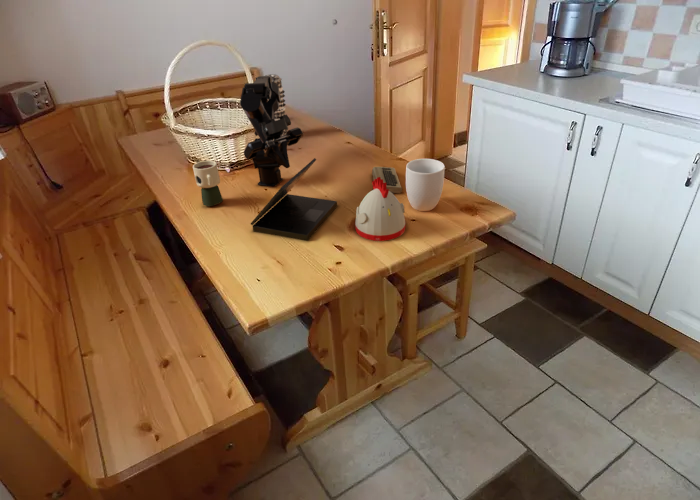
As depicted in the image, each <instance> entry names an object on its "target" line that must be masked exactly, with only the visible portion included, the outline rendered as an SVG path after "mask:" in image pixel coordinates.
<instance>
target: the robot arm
mask: <svg viewBox="0 0 700 500" xmlns="http://www.w3.org/2000/svg"><path fill="white" fill-rule="evenodd" d="M279 102H281V97H280V91H279V87H278V85H276V84H275V83H274V82H273V81H272V79H271V77H269V76H266V75H262V76H261V75H260V76H256V77H255V80H254V81H253V82H250V83H249V82H248V83H247V82H246V83H244V87H242V89H241V95H240V99H239V105H240V107H241V108H242V110H243V112H244V114H245V116H246V117H247V119H248V121H249V123H250V124H251V126H252V128H253V129H254V135H255V137H257V136H258V138H255V139H254V140H252V141H250V142H248V143H246V147H245V148H244V150H243V155H244V157H245V159H246V160H247V161H250V160H252V163H253V167H254V169H255V170H256V169H257V172H258V177H259V182H257V185H258V186H262V187H270V188H275V187H277V186H278V185H279V184H280V183H281V182H282V181H283V180H284V178H283V177H282V172H281V169H280V168H281V166H282V167H284V168H285V169H289V168H290V167H291V165H290V160H289V155H288V147H291V146H293V145H296V144H298V143H299V142H300V140H301V138H302V137H303V135H304V132H303V130H302V129H301V128H300V127H293V128H291V129H289V126H291V125H292V121H291V118H290V117H289V116H288V114H286V113H285V115H283V116H281V117H280V119H279V120H276V121H275V120H274V113H275V112H276V111H277V110H278V109H279ZM286 129H288V132H287V133H286V135H285V136H282V137H281V135H282V134H283V130H286Z"/></svg>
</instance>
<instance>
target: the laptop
mask: <svg viewBox="0 0 700 500" xmlns="http://www.w3.org/2000/svg"><path fill="white" fill-rule="evenodd" d="M337 207H338V200H333V199H325V198H317V197H316V198H315V197H310V196H303V195H297V194H291V193H287V194H286V195H285V196H284V197H283V198H282V199H281V200H279V201H278V202H277V203H276V204H275V205H274V206H273V207H272V208H271V209H270V210H269V211H267V212H266V213H265V214H264V215H263V216H262V217H261V218H260V219H259V220H258V221H257V222H255V223H254V224H253V225H251V227H252V232H255V233H260V234H267V235H271V236H277V237H282V238H283V237H284V238H287V239H295V240H300V241H306V242H308V241H309V240H310V239H311V238H312V237H313V235H314V234H315V233H316V232H317V231H318V230H319V229H320V228H321V226H322V225H323V224H324V223H325V221H326V220H327V219H328V218H329V217H330V216H331V214H332V213H333V212H334V211H335V210H336V208H337Z"/></svg>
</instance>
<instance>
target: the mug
mask: <svg viewBox="0 0 700 500" xmlns="http://www.w3.org/2000/svg"><path fill="white" fill-rule="evenodd" d="M445 170H446V167H445V164H444V163H443V162H442V161H440V160H437V159H433V158H416V159H413V160H412V159H411V160H410V161H408V162H407V163H406V165H405V191H406V197H407V200H408V202H409V205H410V206H411V207H412V209H414V210H415V211H420V212H429V211H430V212H431V211H432V210H433V209H435V208H436V207H437V205H438V204H439V202H440V199H441V197H442V193H443V189H444V182H445Z"/></svg>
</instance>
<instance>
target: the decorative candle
mask: <svg viewBox="0 0 700 500" xmlns="http://www.w3.org/2000/svg"><path fill="white" fill-rule="evenodd" d="M265 76H269V77H271V79H272V81H273V82H274V83H275V84H276V85H278V87H279V91H280V97H281V102H279V109H278V110H277V111H276V112H275V113H274V120H275V121H276V120H279V119H280V117H281V116H283V115H286V109H287V108H286V107H285V106H286V100H285V99H284V98H285V97H286V95H285V90H284V88H283V84H282V77H280V76H279V75H278V74H276V73H275V74H274V73H272V74H265ZM288 130H289V128H288V129H286V130H283V134H282V135H281V137H282V136H285V135H286V133H287V132H288Z"/></svg>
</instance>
